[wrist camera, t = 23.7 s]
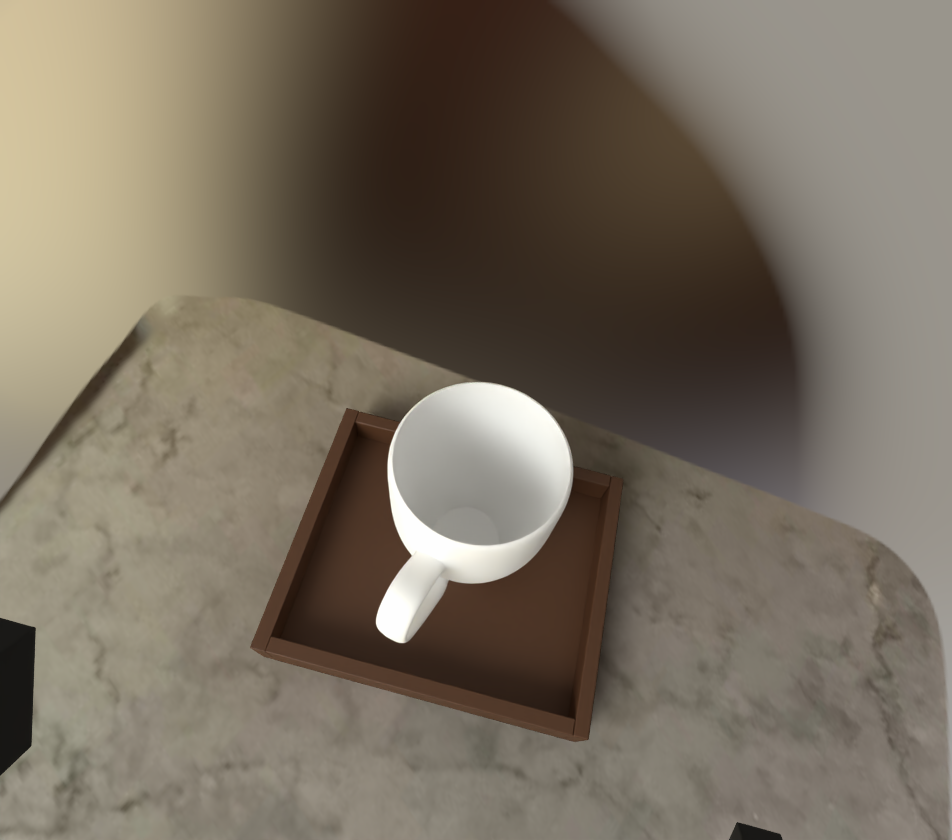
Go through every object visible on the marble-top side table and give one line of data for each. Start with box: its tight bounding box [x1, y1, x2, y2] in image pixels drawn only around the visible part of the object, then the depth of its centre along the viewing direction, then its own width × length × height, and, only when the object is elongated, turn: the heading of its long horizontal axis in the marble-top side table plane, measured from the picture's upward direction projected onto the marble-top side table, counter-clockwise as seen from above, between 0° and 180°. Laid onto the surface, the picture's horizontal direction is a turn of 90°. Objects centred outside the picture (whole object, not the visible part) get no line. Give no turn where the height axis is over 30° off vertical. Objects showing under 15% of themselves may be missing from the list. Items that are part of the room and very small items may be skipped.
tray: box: [250, 408, 623, 742], centre depth 36 cm, size 18×15×3 cm
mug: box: [376, 382, 573, 643], centre depth 31 cm, size 12×8×11 cm
